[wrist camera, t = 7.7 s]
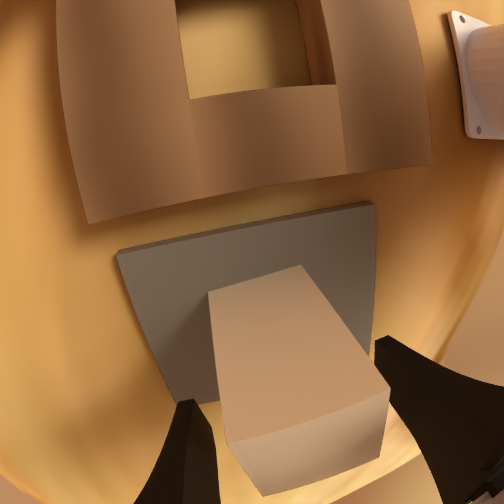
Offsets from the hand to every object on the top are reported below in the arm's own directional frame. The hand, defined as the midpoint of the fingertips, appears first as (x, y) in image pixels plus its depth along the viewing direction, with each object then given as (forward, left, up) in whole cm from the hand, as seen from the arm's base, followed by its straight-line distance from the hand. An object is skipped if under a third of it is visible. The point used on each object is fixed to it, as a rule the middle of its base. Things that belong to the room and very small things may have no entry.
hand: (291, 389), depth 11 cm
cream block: (0, 0, -5) cm, 5 cm away
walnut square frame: (-1, -13, -5) cm, 14 cm away
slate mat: (0, 0, -5) cm, 5 cm away
